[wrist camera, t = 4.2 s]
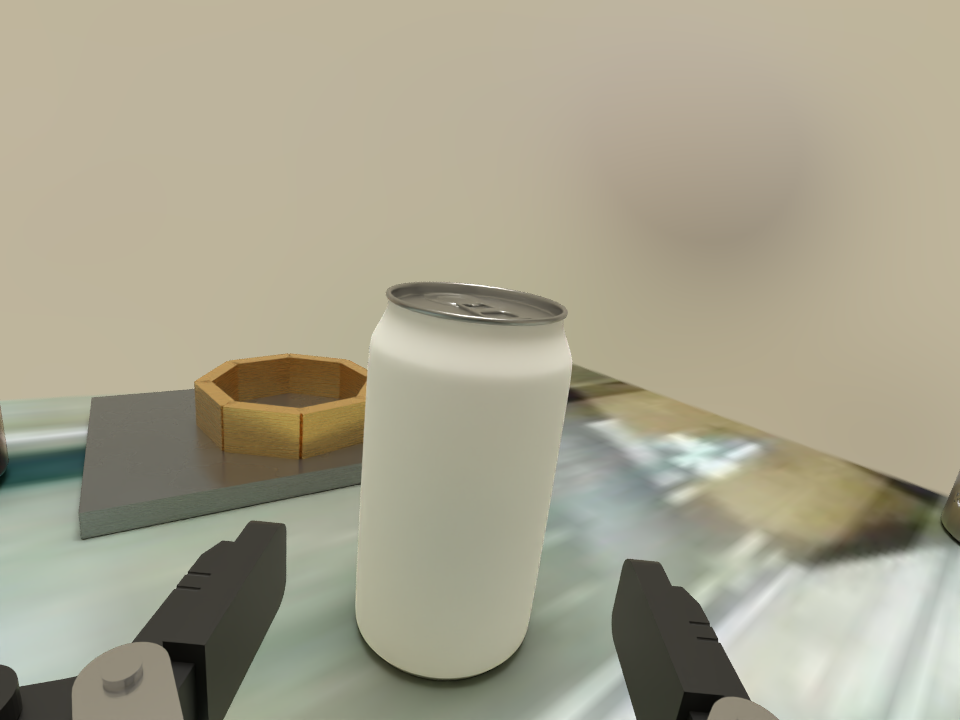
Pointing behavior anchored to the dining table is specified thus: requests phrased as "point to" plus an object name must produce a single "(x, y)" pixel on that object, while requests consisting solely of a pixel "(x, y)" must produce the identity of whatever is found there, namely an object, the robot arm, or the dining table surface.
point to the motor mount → (223, 442)
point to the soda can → (3, 448)
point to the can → (457, 473)
